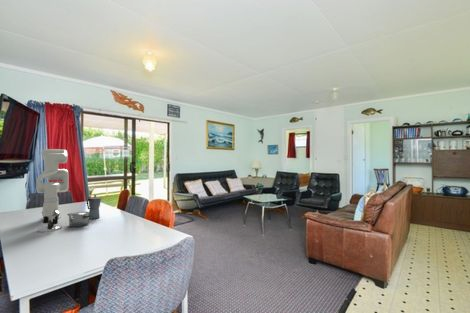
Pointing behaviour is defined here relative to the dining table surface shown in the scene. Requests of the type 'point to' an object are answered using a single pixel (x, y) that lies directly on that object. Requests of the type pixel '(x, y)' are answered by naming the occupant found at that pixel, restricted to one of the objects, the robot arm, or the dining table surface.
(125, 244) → the dining table surface
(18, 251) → the dining table surface
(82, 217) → the cooker pot
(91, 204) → the moka pot
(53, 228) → the lid
